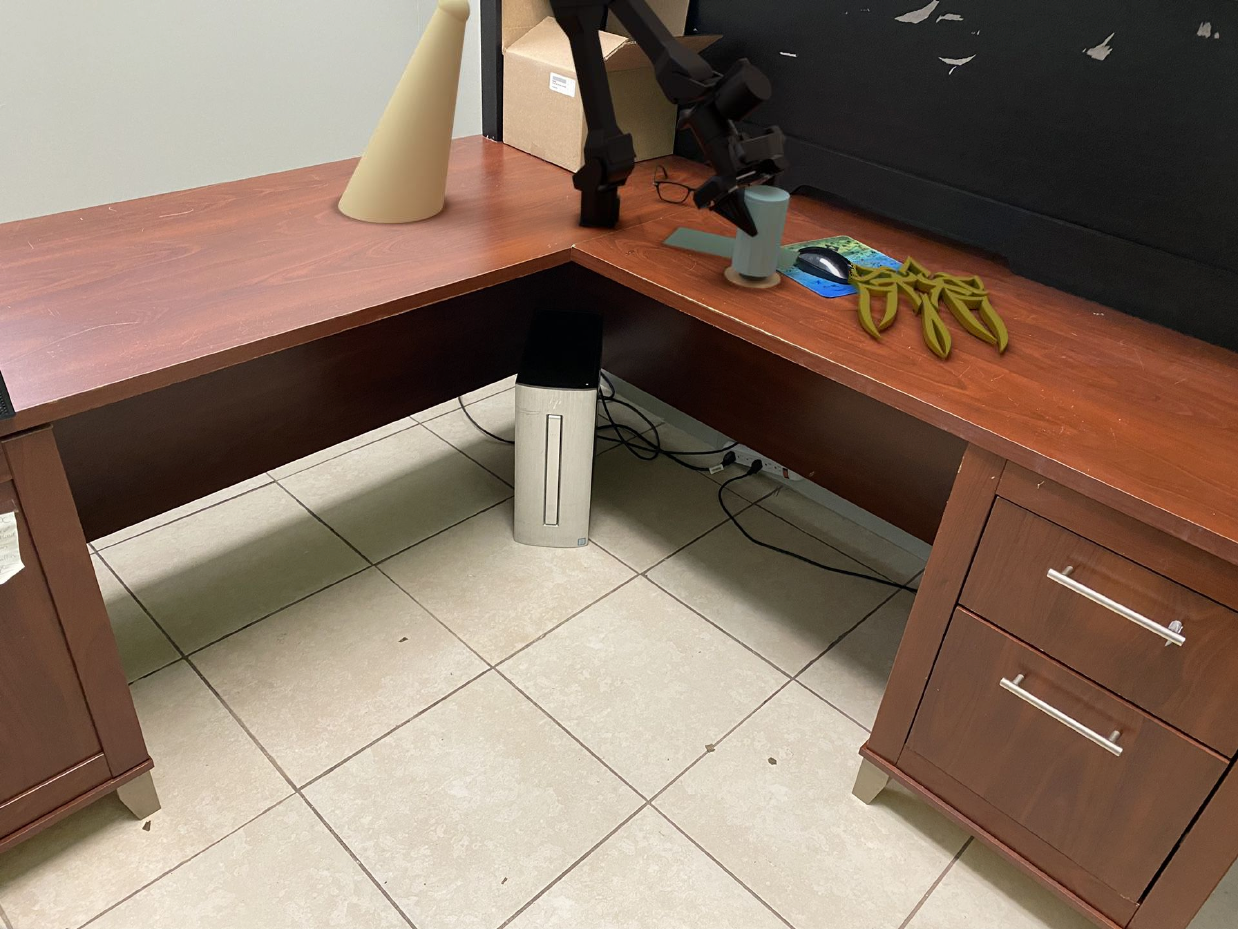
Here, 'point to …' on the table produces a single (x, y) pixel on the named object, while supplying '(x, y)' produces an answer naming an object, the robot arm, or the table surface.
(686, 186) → the eyeglasses
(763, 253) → the tumbler
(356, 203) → the cone light
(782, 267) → the mat
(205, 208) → the table surface
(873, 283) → the gold ornamental emblem
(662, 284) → the table surface
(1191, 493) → the table surface
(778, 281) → the knob on round base
